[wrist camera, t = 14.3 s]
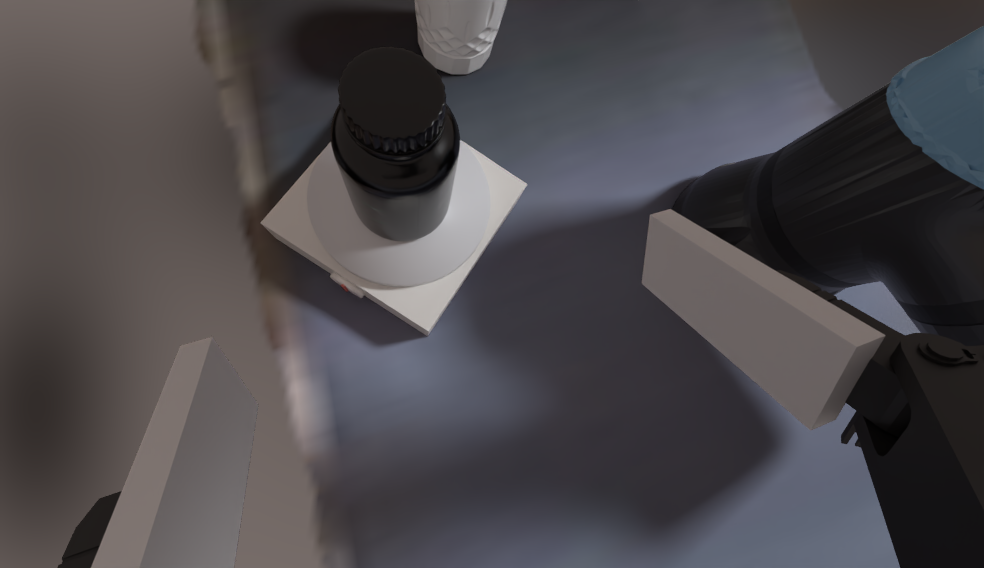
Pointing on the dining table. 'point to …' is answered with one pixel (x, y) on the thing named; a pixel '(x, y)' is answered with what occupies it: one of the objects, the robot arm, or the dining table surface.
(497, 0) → the white cup
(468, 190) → the dial scale
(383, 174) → the supplement bottle
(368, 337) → the dining table surface
